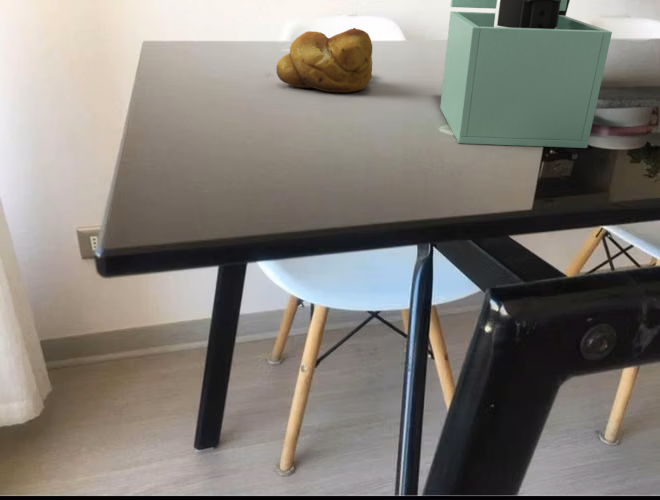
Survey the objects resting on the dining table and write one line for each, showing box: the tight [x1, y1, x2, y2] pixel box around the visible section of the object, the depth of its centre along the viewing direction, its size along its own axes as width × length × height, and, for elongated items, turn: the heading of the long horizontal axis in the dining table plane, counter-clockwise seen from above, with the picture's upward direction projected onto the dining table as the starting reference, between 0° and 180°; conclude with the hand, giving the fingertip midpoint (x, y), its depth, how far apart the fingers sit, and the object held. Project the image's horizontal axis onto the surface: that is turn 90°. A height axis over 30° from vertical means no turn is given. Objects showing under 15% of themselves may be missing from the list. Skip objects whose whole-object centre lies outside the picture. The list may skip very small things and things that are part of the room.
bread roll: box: [275, 27, 373, 93], centre depth 81 cm, size 13×10×8 cm
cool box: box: [439, 11, 613, 149], centre depth 65 cm, size 14×12×11 cm
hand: (523, 39), depth 63 cm, fingers closed on medicine bottle, 7 cm apart
